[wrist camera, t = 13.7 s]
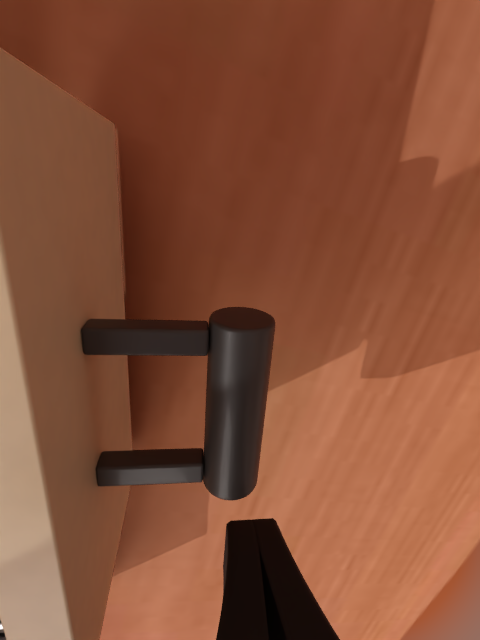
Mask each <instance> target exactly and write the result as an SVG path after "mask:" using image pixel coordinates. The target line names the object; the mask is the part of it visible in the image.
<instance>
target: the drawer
mask: <svg viewBox="0 0 480 640" xmlns="http://www.w3.org/2000/svg"><path fill="white" fill-rule="evenodd" d="M274 332H275V320H274V318H273V317H272V316H271V315H269V314H268V313H266V312H263V311H260V310H257V309H253V308H247V307H228V308H223V309H219V310H216V311H214V312H213V313H212V314H211V316H210V318H209V324H208V322H207V321H184V320H134V319H125V303H124V285H123V267H122V248H121V230H120V212H119V194H118V175H117V157H116V139H115V125H114V123H113V122H111V121H110V120H108V119H107V118H105V117H104V116H102V115H101V114H99V113H98V112H96V111H95V110H93V109H92V108H90V107H89V106H87V105H86V104H84V103H83V102H81V101H80V100H78V99H77V98H75V97H74V96H72V95H71V94H69V93H68V92H66V91H65V90H63V89H62V88H60V87H59V86H57V85H56V84H54V83H53V82H51V81H50V80H48V79H47V78H45V77H44V76H42V75H41V74H39V73H38V72H36V71H35V70H33V69H32V68H30V67H29V66H27V65H26V64H24V63H23V62H21V61H20V60H18V59H17V58H15V57H14V56H12V55H11V54H10V53H8V52H7V51H5V50H4V49H2V48H1V47H0V620H1V624H2V627H3V630H4V634H5V637H6V640H99V639H100V634H101V629H102V624H103V619H104V614H105V609H106V605H107V600H108V595H109V590H110V585H111V580H112V575H113V570H114V566H115V561H116V556H117V551H118V546H119V541H120V536H121V532H122V527H123V522H124V517H125V512H126V507H127V502H128V498H129V493H130V488H131V485H148V484H171V483H194V482H202V480H203V482H204V484H205V486H206V488H207V490H208V491H209V492H210V493H211V494H213V495H214V496H216V497H218V498H220V499H224V500H238V499H241V498H244V497H246V496H247V495H249V494H250V493H251V492H252V491H253V489H254V488H255V486H256V484H257V477H258V469H259V460H260V452H261V443H262V435H263V426H264V418H265V409H266V401H267V392H268V384H269V375H270V366H271V358H272V349H273V341H274ZM207 354H208V363H207V387H206V412H205V436H204V455H203V449H201V448H191V449H158V450H133V449H132V431H131V413H130V394H129V376H128V358H127V355H175V356H206V355H207Z"/></svg>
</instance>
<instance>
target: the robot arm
mask: <svg viewBox="0 0 480 640" xmlns="http://www.w3.org/2000/svg"><path fill="white" fill-rule="evenodd" d="M223 573H224V593H223V603H222V610H221V616H220V622H219V627H218V633H217V638H216V640H340V639H339V638H338V636H337V634H336V633H335V631H334V630H333V628H332V626H331V625H330V623H329V621H328V620H327V618H326V616H325V615H324V613H323V611H322V610H321V608H320V606H319V605H318V603H317V601H316V599H315V598H314V596H313V594H312V592H311V590H310V589H309V587H308V585H307V583H306V582H305V580H304V578H303V576H302V574H301V572H300V570H299V569H298V567H297V565H296V563H295V561H294V559H293V557H292V555H291V553H290V551H289V549H288V547H287V545H286V542H285V540H284V538H283V536H282V534H281V532H280V529H279V527H278V525H277V522H276V521H275V520H274V519H273V518H272V519H255V520H237V521H230V522H229V523H227V526H226V539H225V551H224V564H223Z"/></svg>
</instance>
